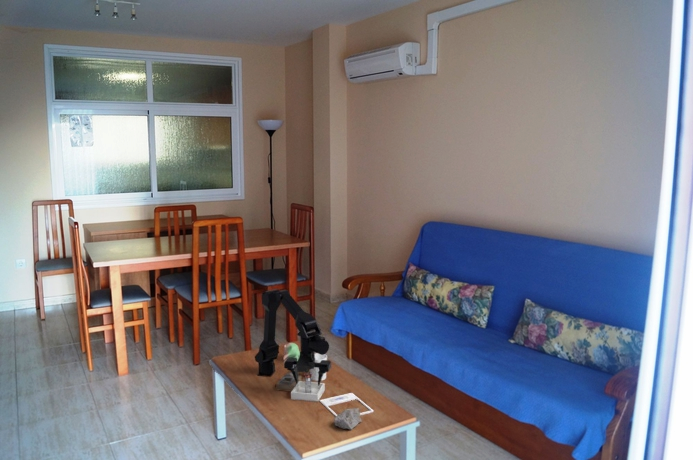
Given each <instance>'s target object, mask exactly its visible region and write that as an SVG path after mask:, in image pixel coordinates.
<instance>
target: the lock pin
mask: <svg viewBox="0 0 693 460" xmlns="http://www.w3.org/2000/svg"><path fill="white" fill-rule="evenodd" d="M303 377H304V382H305V393H311V382H312V379H311V377H312V374H311V373H310V372H307V373H306V372H305V373H304V374H303Z"/></svg>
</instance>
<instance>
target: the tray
mask: <svg viewBox="0 0 693 460" xmlns="http://www.w3.org/2000/svg"><path fill="white" fill-rule="evenodd" d="M325 385H326V383H324V382H320V385H319V386H318V382H316V381H315V382H314V381H311V393H305V380H304V381H303V380H302V381H299V382H298V384H297V385H296V386H295V387H294V389H293V390H292V391H290V400H293V401H294V400H295V401H302V402H303V401H305V402H315V403H318V402H320V400H321V399H320V398H322V396H323V394H324V392H325V390H326V386H325Z"/></svg>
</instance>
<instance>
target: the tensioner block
mask: <svg viewBox="0 0 693 460" xmlns="http://www.w3.org/2000/svg"><path fill="white" fill-rule="evenodd" d="M302 379H303V377H302V375H298V382H299V381H303V380H302ZM296 385H297V383H296V381H295V379H294V376H293V374H292V372H288V373H285V374H283V375H282V376H281V378H280V379H279V380H278V381H277V383H275V387H276V388H275V389H276V391H285V392H286V391H287V392H292V390H293V389H294V387H295V386H296Z"/></svg>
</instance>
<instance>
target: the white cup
mask: <svg viewBox="0 0 693 460" xmlns="http://www.w3.org/2000/svg"><path fill="white" fill-rule="evenodd" d="M322 360H328V355H327V354H324V355H321V354H318V353H316V352H315V362H317V363H320V362H321V361H322ZM318 372H319V368H318V367H314V369H309V373H310V374H312V377H311V381H313V382H314V381H315V382H318V376H319V374H318ZM326 379H327V372H326V373H324V374H323V376H322V379H321V382H322V381H325V380H326Z"/></svg>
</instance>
